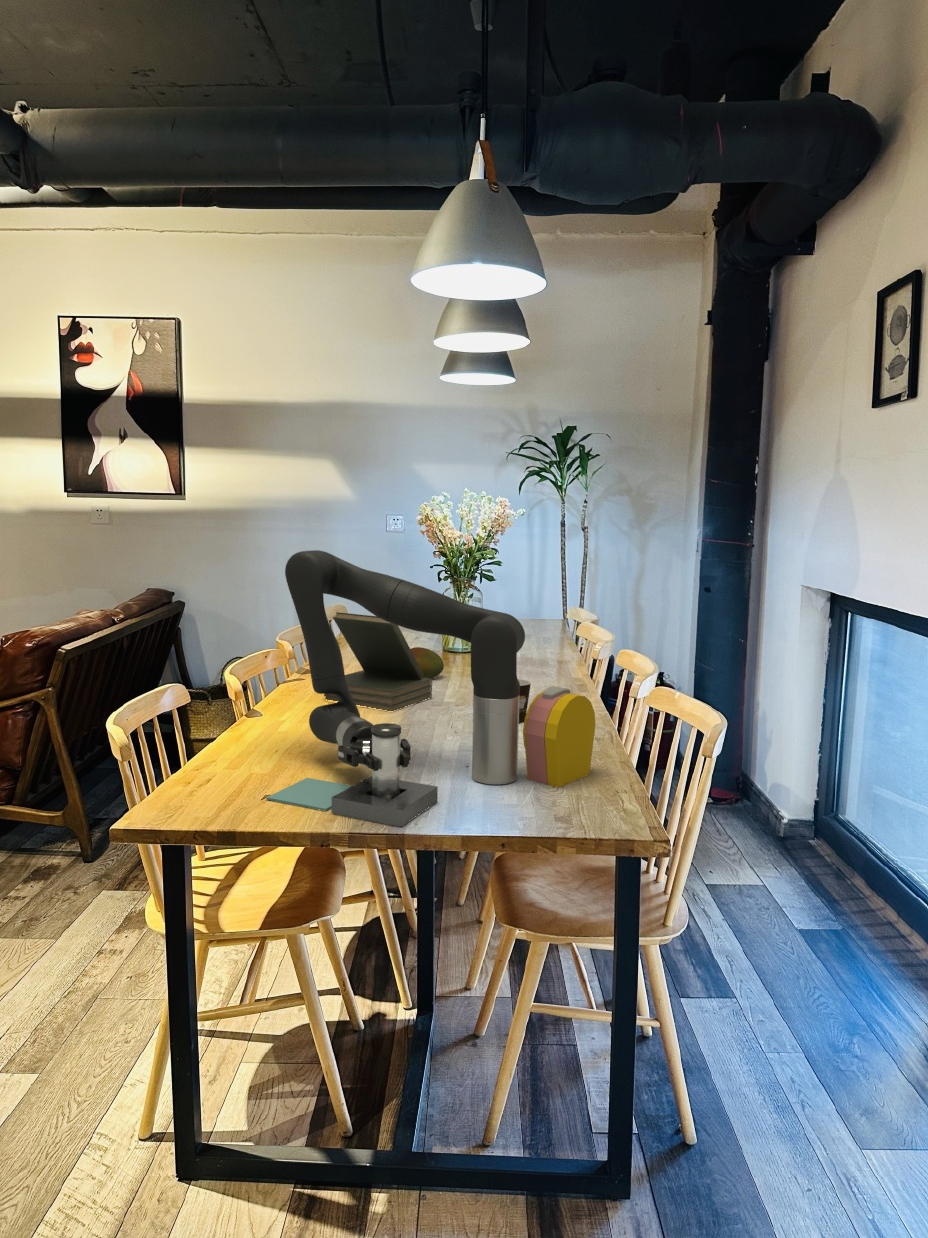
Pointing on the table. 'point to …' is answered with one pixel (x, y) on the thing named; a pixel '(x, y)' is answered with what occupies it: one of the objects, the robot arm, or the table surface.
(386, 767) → the tumbler with black lid
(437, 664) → the fruit
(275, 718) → the table surface
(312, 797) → the rubber mat
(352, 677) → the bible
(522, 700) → the coffee mug
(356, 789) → the collar block
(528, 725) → the yellow and pink lunchbox
